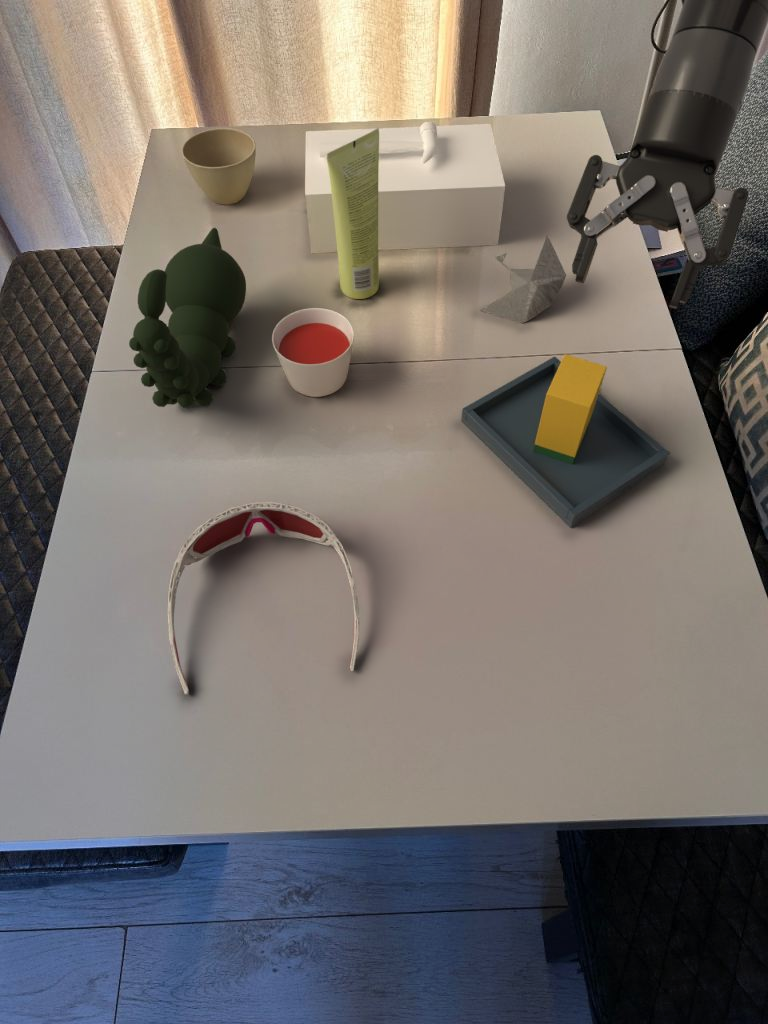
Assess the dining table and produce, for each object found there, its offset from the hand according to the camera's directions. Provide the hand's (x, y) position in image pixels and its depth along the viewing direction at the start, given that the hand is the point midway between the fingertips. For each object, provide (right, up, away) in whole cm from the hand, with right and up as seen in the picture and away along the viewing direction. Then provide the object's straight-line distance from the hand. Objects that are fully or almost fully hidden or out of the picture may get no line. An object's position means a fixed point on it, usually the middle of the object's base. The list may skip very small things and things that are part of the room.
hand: (625, 294), depth 69 cm
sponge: (-3, -12, +14) cm, 18 cm away
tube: (-25, +9, +29) cm, 40 cm away
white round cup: (-29, -4, +21) cm, 36 cm away
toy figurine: (-43, -1, +23) cm, 49 cm away
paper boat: (-4, +7, +28) cm, 29 cm away
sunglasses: (-33, -28, +4) cm, 44 cm away
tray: (-3, -12, +14) cm, 19 cm away
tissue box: (-19, +21, +38) cm, 48 cm away
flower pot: (-44, +26, +41) cm, 66 cm away
